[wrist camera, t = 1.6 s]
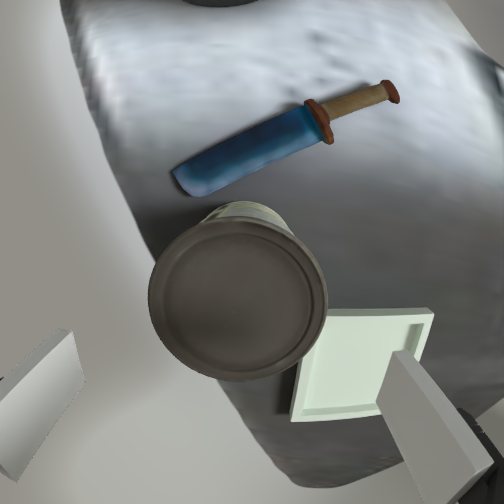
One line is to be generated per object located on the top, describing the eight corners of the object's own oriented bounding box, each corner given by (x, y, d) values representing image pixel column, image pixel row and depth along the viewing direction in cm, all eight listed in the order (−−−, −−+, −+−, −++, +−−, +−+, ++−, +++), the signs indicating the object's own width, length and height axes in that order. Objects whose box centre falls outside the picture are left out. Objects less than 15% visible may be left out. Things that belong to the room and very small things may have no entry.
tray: (306, 308, 31) (309, 316, 29) (426, 307, 31) (434, 313, 29) (289, 411, 35) (290, 421, 33) (393, 403, 35) (398, 411, 33)
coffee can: (281, 306, 31) (299, 392, 17) (187, 287, 30) (143, 362, 17) (305, 212, 28) (351, 240, 15) (203, 190, 28) (158, 200, 14)
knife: (185, 211, 26) (164, 164, 25) (195, 211, 29) (176, 169, 28) (414, 108, 22) (388, 66, 22) (403, 117, 25) (380, 78, 25)
